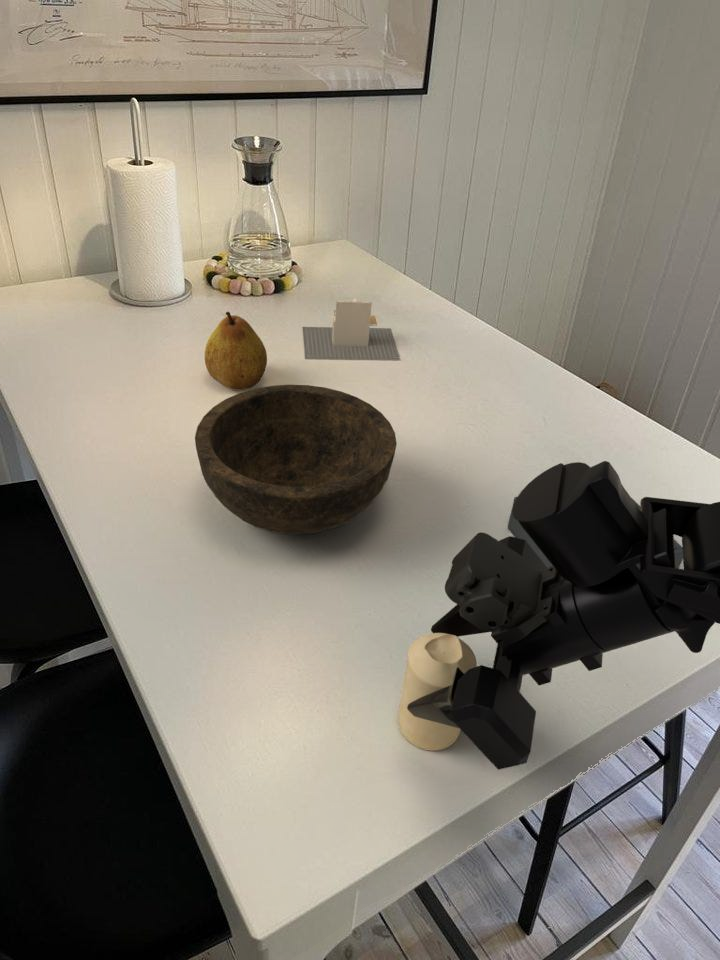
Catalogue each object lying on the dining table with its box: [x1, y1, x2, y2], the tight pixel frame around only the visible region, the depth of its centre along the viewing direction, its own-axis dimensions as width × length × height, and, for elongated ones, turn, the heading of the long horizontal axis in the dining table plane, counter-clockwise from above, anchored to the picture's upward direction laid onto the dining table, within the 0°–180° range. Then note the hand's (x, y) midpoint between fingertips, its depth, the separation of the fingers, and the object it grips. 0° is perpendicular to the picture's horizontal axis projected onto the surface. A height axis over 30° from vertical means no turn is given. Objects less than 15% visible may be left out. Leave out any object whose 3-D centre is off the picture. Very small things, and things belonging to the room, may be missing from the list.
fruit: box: [204, 311, 268, 391], centre depth 106 cm, size 9×9×12 cm
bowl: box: [194, 384, 397, 535], centre depth 85 cm, size 22×22×10 cm
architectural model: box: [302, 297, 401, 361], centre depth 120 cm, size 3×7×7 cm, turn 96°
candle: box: [397, 632, 478, 752], centre depth 62 cm, size 6×6×10 cm
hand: (422, 669), depth 61 cm, fingers open, 8 cm apart
